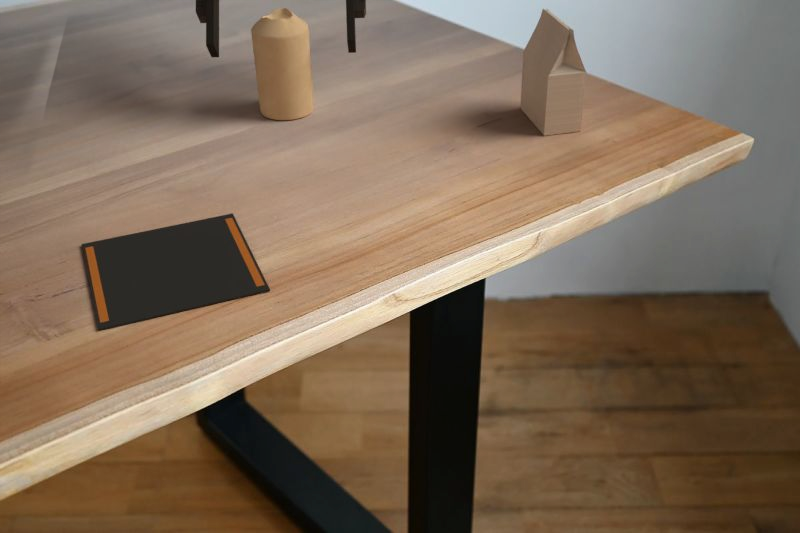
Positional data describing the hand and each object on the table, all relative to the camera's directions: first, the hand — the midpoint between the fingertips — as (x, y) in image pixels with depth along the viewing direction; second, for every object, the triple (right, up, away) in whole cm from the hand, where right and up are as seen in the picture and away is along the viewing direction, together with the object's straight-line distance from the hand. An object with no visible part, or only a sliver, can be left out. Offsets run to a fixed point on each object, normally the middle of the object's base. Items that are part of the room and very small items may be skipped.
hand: (282, 49), depth 89 cm
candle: (0, -5, +4) cm, 7 cm away
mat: (-6, -21, -21) cm, 30 cm away
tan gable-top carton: (+26, -7, 0) cm, 27 cm away
